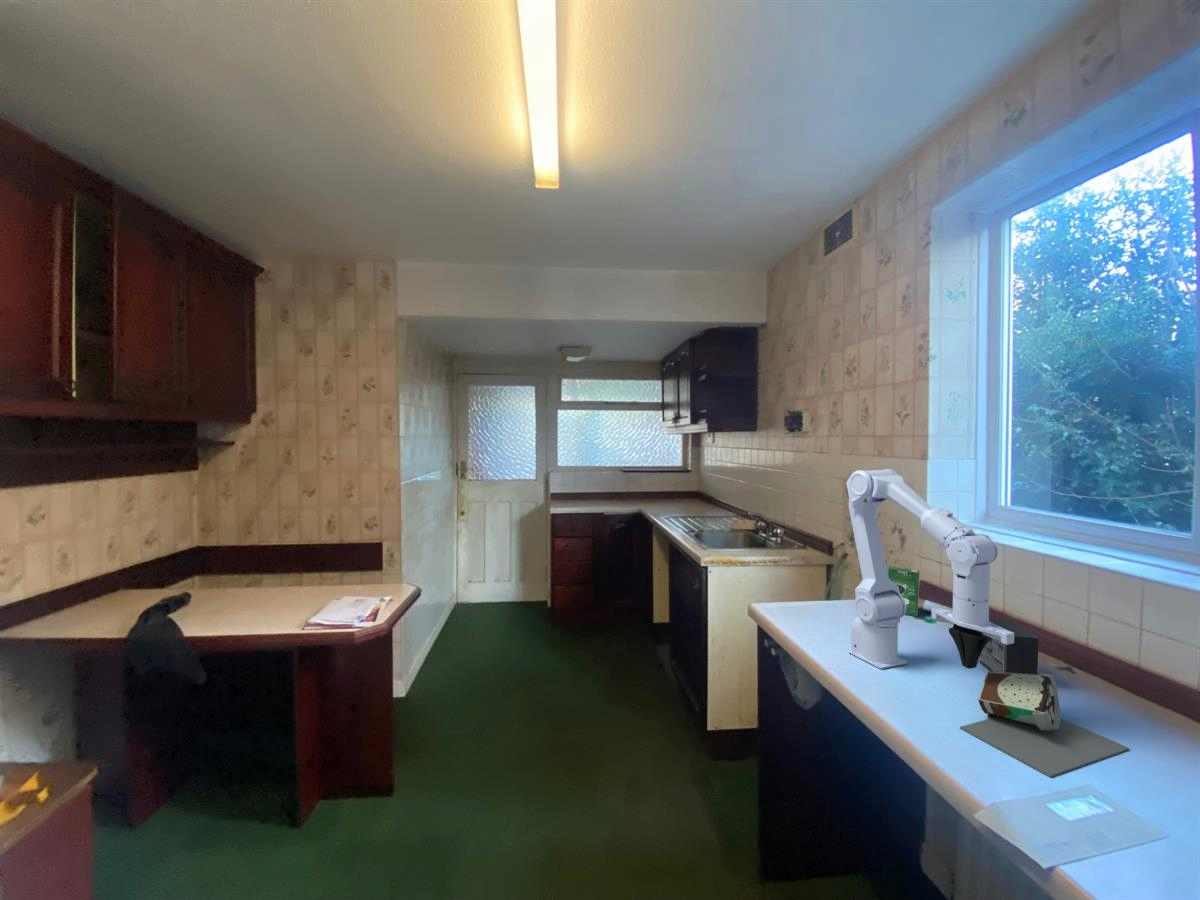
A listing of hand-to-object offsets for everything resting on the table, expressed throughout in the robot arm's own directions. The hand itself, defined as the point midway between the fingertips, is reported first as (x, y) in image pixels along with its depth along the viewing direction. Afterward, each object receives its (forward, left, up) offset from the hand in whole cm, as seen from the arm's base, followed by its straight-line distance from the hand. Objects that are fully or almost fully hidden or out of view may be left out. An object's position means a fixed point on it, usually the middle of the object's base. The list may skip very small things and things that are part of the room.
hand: (969, 666), depth 100 cm
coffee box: (-42, +32, -8) cm, 53 cm away
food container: (+3, +1, -5) cm, 6 cm away
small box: (-6, +20, -8) cm, 22 cm away
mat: (+12, 0, -7) cm, 14 cm away
